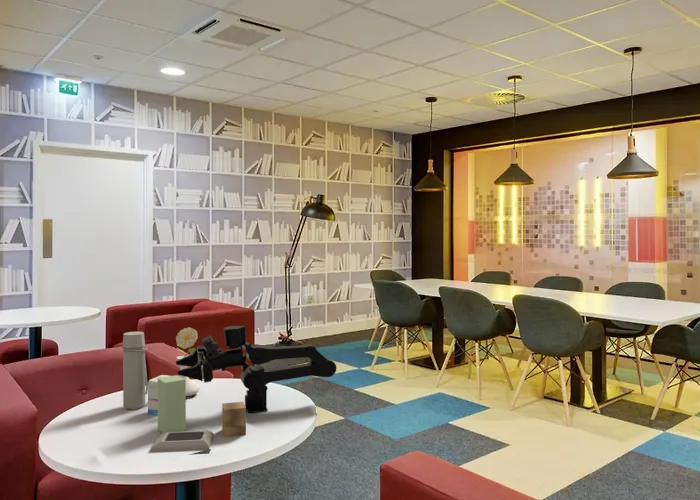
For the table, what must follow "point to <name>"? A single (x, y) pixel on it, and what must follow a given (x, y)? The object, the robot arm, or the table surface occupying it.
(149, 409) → the ink box
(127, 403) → the water bottle
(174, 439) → the grey tray
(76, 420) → the table surface
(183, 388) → the sage key
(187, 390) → the flower in vase
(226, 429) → the walnut block
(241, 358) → the robot arm
